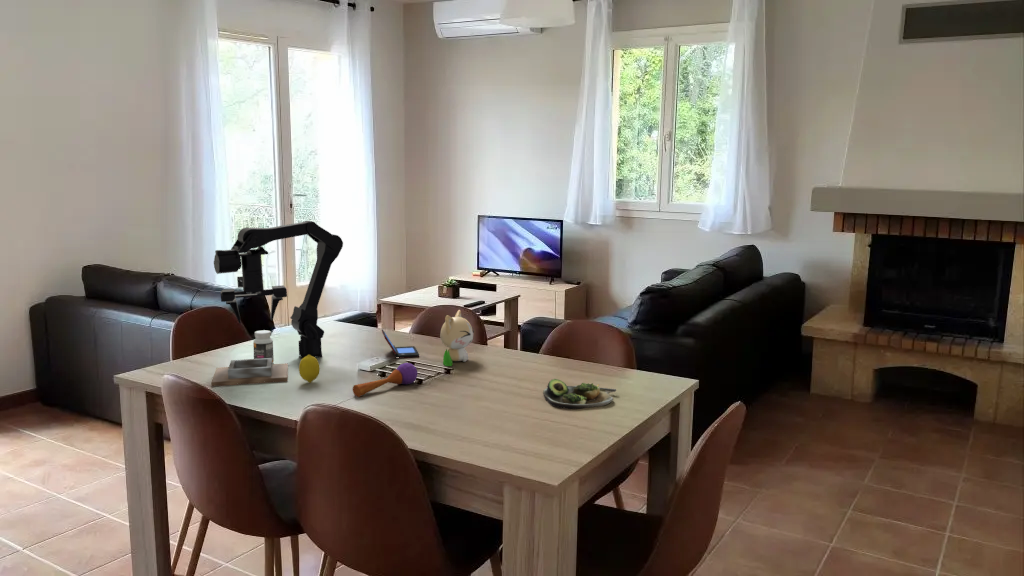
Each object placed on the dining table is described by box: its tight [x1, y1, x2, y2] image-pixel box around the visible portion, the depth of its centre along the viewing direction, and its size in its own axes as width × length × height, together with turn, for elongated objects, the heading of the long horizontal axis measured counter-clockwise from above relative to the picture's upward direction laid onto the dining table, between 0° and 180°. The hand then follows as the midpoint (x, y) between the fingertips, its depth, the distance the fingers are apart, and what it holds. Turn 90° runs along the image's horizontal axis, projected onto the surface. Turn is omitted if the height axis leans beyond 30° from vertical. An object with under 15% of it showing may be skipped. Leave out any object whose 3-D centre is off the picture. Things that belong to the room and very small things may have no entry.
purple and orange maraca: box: [352, 362, 418, 398], centre depth 217 cm, size 6×6×20 cm
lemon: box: [298, 355, 321, 384], centre depth 223 cm, size 6×6×8 cm
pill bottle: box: [252, 329, 275, 364], centre depth 243 cm, size 6×6×10 cm
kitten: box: [439, 309, 475, 367], centre depth 247 cm, size 15×10×15 cm
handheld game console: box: [381, 329, 420, 359], centre depth 256 cm, size 12×11×7 cm
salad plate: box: [542, 378, 617, 410], centre depth 209 cm, size 19×18×5 cm
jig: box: [210, 358, 289, 387], centre depth 229 cm, size 20×16×4 cm
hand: (255, 321), depth 242 cm, fingers open, 9 cm apart
